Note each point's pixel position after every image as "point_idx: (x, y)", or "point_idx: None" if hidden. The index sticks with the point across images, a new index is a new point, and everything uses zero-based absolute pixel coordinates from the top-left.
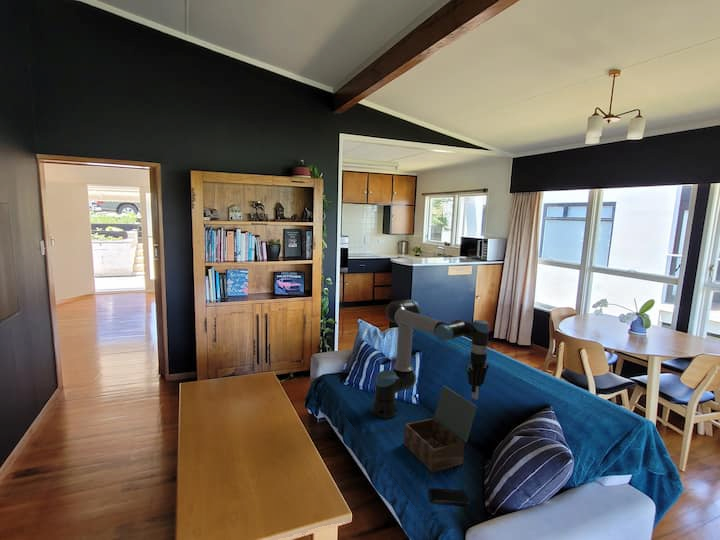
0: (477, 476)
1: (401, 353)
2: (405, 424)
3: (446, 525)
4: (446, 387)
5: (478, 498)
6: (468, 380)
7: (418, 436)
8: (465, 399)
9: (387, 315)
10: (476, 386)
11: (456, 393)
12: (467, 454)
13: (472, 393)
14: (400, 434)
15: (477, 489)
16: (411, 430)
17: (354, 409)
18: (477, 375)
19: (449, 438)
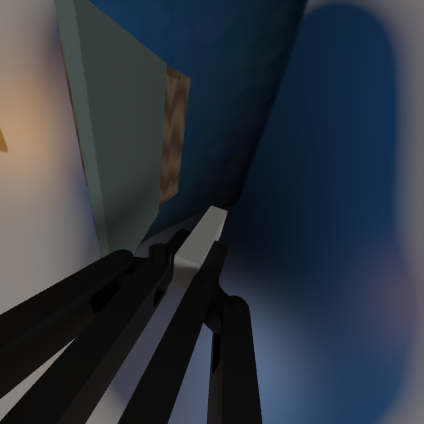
0: (175, 222)
1: None
2: (60, 44)
3: (96, 232)
4: (70, 44)
5: (146, 239)
6: (78, 273)
7: (75, 126)
8: (103, 237)
9: None
10: (174, 283)
11: (96, 171)
12: (208, 181)
13: (202, 219)
14: (125, 4)
15: (155, 232)
16: (69, 88)
17: None
18: (87, 419)
19: None
